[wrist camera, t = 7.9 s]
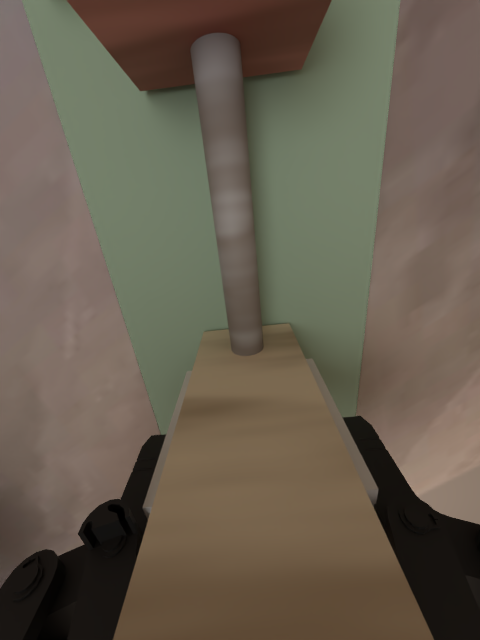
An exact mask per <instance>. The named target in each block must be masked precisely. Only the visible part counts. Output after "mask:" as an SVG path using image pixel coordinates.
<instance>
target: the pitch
mask: <svg viewBox="0 0 480 640" xmlns="http://www.w3.org/2000/svg"><path fill="white" fill-rule="evenodd" d="M22 2H23V5H24V8H25V11H26V15H27V18H28V21H29V24H30V27H31V30H32V33H33V36H34V40H35V43H36V46H37V49H38V52H39V55H40V58H41V61H42V64H43V68H44V71H45V74H46V77H47V80H48V83H49V86H50V89H51V93H52V96H53V99H54V102H55V105H56V108H57V111H58V114H59V118H60V121H61V124H62V127H63V130H64V133H65V136H66V139H67V143H68V146H69V149H70V152H71V155H72V158H73V161H74V164H75V168H76V171H77V174H78V177H79V180H80V183H81V186H82V189H83V193H84V196H85V199H86V202H87V205H88V208H89V211H90V214H91V218H92V221H93V224H94V227H95V230H96V233H97V236H98V239H99V242H100V246H101V249H102V252H103V255H104V258H105V261H106V264H107V267H108V271H109V274H110V277H111V280H112V283H113V286H114V289H115V292H116V296H117V299H118V302H119V305H120V308H121V311H122V314H123V317H124V321H125V324H126V327H127V330H128V333H129V336H130V339H131V342H132V346H133V349H134V352H135V355H136V358H137V361H138V364H139V367H140V371H141V374H142V377H143V380H144V383H145V386H146V389H147V392H148V396H149V399H150V402H151V405H152V408H153V411H154V414H155V417H156V421H157V424H158V427H159V430H160V433H161V435H164V434H167V431H168V428H169V425H170V422H171V418H172V415H173V412H174V409H175V406H176V403H177V400H178V397H179V394H180V391H181V388H182V385H183V382H184V379H185V375H186V372H187V371H192V370H193V366H194V363H195V359H196V356H197V353H198V349H199V346H200V342H201V339H202V336H203V332H205V331H215V330H225V329H229V328H228V321H227V313H226V306H225V299H224V292H223V284H222V277H221V270H220V263H219V255H218V248H217V241H216V234H215V226H214V219H213V212H212V204H211V197H210V190H209V183H208V175H207V168H206V161H205V154H204V146H203V139H202V132H201V125H200V117H199V110H198V103H197V96H196V88H195V84H191V85H184V86H176V87H169V88H162V89H154V90H147V91H140V90H139V89H138V88H137V87H136V85H135V84H134V83H133V82H132V81H131V79H130V78H129V77H128V76H127V74H126V73H125V72H124V71H123V69H122V68H121V67H120V66H119V65H118V63H117V62H116V61H115V60H114V58H113V57H112V56H111V55H110V53H109V52H108V51H107V50H106V49H105V47H104V46H103V45H102V44H101V42H100V41H99V40H98V39H97V37H96V36H95V35H94V34H93V32H92V31H91V30H90V29H89V28H88V26H87V25H86V24H85V23H84V21H83V20H82V19H81V18H80V16H79V15H78V14H77V13H76V12H75V10H74V9H73V8H72V7H71V5H70V4H69V3H68V2H67V0H22ZM399 7H400V0H332V1H331V3H330V5H329V8H328V10H327V12H326V15H325V17H324V19H323V21H322V24H321V26H320V28H319V30H318V33H317V35H316V37H315V40H314V42H313V44H312V46H311V49H310V51H309V53H308V56H307V58H306V60H305V62H304V65H303V67H302V69H301V70H294V71H286V72H279V73H272V74H264V75H257V76H250V77H243V86H244V99H245V112H246V125H247V138H248V151H249V164H250V177H251V190H252V203H253V216H254V229H255V242H256V254H257V267H258V280H259V293H260V306H261V319H262V326H266V325H276V324H286V323H289V324H290V326H291V328H292V330H293V333H294V335H295V337H296V339H297V341H298V343H299V346H300V348H301V350H302V352H303V354H304V357H305V359H311V358H312V359H313V360H314V362H315V364H316V366H317V368H318V370H319V372H320V374H321V376H322V378H323V380H324V382H325V384H326V386H327V388H328V390H329V392H330V394H331V396H332V398H333V400H334V402H335V404H336V406H337V408H338V410H339V412H340V414H341V416H342V418H343V417H354V416H356V408H357V399H358V389H359V380H360V371H361V361H362V352H363V343H364V333H365V324H366V315H367V305H368V296H369V287H370V277H371V268H372V259H373V249H374V240H375V231H376V221H377V212H378V203H379V193H380V184H381V175H382V166H383V156H384V147H385V138H386V128H387V119H388V110H389V100H390V91H391V82H392V72H393V63H394V54H395V44H396V35H397V26H398V16H399Z"/></svg>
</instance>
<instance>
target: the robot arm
mask: <svg viewBox="0 0 480 640" xmlns="http://www.w3.org/2000/svg"><path fill="white" fill-rule="evenodd" d="M306 361H307V363H308V365H309V367H310V370H311V372H312V374H313V376H314V378H315V381H316V383H317V385H318V387H319V389H320V392H321V394H322V396H323V398H324V400H325V402H326V405H327V407H328V409H329V411H330V413H331V416H332V418H333V420H334V422H335V424H336V427H337V429H338V431H339V433H340V435H341V437H342V440H343V442H344V444H345V446H346V448H347V451H348V453H349V455H350V457H351V459H352V461H353V464H354V466H355V468H356V470H357V472H358V475H359V477H360V479H361V481H362V483H363V486H364V488H365V490H366V492H367V494H368V496H369V499H370V501H371V503H372V505H373V507H374V510H375V512H376V514H377V516H378V518H379V520H380V523H381V525H382V527H383V529H384V531H385V534H386V536H387V538H388V540H389V542H390V545H391V547H392V549H393V551H394V553H395V555H396V558H397V560H398V562H399V564H400V566H401V569H402V571H403V573H404V575H405V577H406V580H407V582H408V584H409V586H410V588H411V590H412V593H413V595H414V597H415V599H416V601H417V604H418V606H419V608H420V610H421V612H422V614H423V617H424V619H425V621H426V623H427V625H428V628H429V630H430V632H431V634H432V636H433V639H434V640H480V525H479V524H475V523H471V522H468V521H464V520H460V519H456V518H452V517H449V516H446V515H443V514H440V513H439V512H437V511H435V510H433V509H432V508H431V507H430V506H429V505H428V504H427V503H425V502H423V501H422V500H420V499H419V498H418V497H417V496H416V495H415V493H414V492H413V491H412V489H411V488H410V486H409V484H408V483H407V481H406V480H405V478H404V476H403V475H402V473H401V472H400V470H399V468H398V467H397V465H396V464H395V462H394V460H393V459H392V457H391V456H390V454H389V452H388V451H387V450H386V449H385V446H384V444H383V443H382V441H381V440H380V439H379V436H378V435H377V433H376V432H375V430H374V428H373V427H372V425H371V424H369V423H368V422H367V421H366V420H365V419H363V418H362V417H361V416H354V417H343V418H342V416H341V414H340V412H339V410H338V408H337V406H336V404H335V402H334V400H333V398H332V396H331V394H330V392H329V390H328V388H327V386H326V384H325V382H324V380H323V378H322V376H321V374H320V372H319V370H318V368H317V366H316V364H315V362H314V360H313V359H312V358H311V359H306ZM191 373H192V371H187V372H186V375H185V379H184V382H183V385H182V388H181V391H180V394H179V397H178V400H177V403H176V406H175V409H174V412H173V415H172V418H171V422H170V425H169V428H168V431H167V434H164V435H154V436H151V437H150V438H149V439H148V440H147V442H146V443H145V444H144V445H143V446H142V449H141V451H140V453H139V456H138V458H137V462H136V463H135V466H134V468H133V472H132V473H131V475H130V478H129V480H128V483H127V485H126V488H125V490H124V492H123V495H122V497H121V500H120V499H114V500H109V501H107V502H105V503H103V504H101V505H99V506H98V507H97V508H96V509H95V510H93V511H92V512H91V513H90V514H89V516H88V517H87V518H86V520H85V521H84V522H83V524H82V526H81V528H80V530H79V533H78V535H79V536H80V538H81V539H82V541H83V542H84V544H85V545H82V546H80V547H78V548H76V549H73V550H71V551H69V552H67V553H64V554H62V555H60V556H57V555H56V554H55V552H54V551H52V550H47V549H45V550H42V551H39V552H36V553H34V554H33V555H31V556H30V557H28V558H26V559H25V560H24V561H23V562H22V563H21V564H20V565H19V566H17V567H16V568H15V569H14V570H13V572H12V573H11V574H10V576H9V577H8V578H7V580H6V581H5V582H4V584H3V585H2V587H1V589H0V640H113V638H114V634H115V631H116V628H117V624H118V621H119V617H120V614H121V611H122V607H123V604H124V600H125V597H126V594H127V590H128V587H129V583H130V580H131V577H132V573H133V570H134V566H135V563H136V560H137V556H138V553H139V549H140V546H141V543H142V539H143V536H144V533H145V529H146V526H147V522H148V519H149V516H150V512H151V509H152V505H153V502H154V499H155V495H156V492H157V488H158V485H159V482H160V478H161V475H162V471H163V468H164V465H165V461H166V458H167V454H168V451H169V448H170V444H171V441H172V437H173V434H174V431H175V427H176V424H177V420H178V417H179V414H180V410H181V407H182V403H183V400H184V397H185V393H186V390H187V386H188V383H189V380H190V376H191Z"/></svg>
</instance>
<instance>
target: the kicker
mask: <svg viewBox="0 0 480 640" xmlns="http://www.w3.org/2000/svg"><path fill="white" fill-rule="evenodd" d="M331 1H332V0H67V2H68V3H69V4H70V5H71V7H72V8H73V9H74V10H75V12H76V13H77V14H78V15H79V16H80V18H81V19H82V20H83V21H84V23H85V24H86V25H87V26H88V28H89V29H90V30H91V31H92V32H93V34H94V35H95V36H96V37H97V39H98V40H99V41H100V42H101V44H102V45H103V46H104V47H105V49H106V50H107V51H108V52H109V53H110V55H111V56H112V57H113V58H114V60H115V61H116V62H117V63H118V65H119V66H120V67H121V68H122V69H123V71H124V72H125V73H126V74H127V76H128V77H129V78H130V79H131V81H132V82H133V83H134V84H135V85H136V87H137V88H138V89H139V90H140V91H147V90H154V89H162V88H169V87H176V86H184V85H191V84H195V88H196V96H197V103H198V110H199V117H200V125H201V132H202V139H203V146H204V154H205V161H206V168H207V175H208V183H209V190H210V197H211V204H212V212H213V219H214V226H215V234H216V241H217V248H218V255H219V263H220V270H221V277H222V284H223V292H224V299H225V306H226V313H227V321H228V328H229V329H225V330H215V331H205V332H203V336H202V339H201V342H200V346H199V349H198V353H197V356H196V359H195V363H194V366H193V370H192V373H191V376H190V380H189V383H188V386H187V390H186V393H185V397H184V400H183V403H182V407H181V410H180V414H179V417H178V420H177V424H176V427H175V431H174V434H173V437H172V441H171V444H170V448H169V451H168V454H167V458H166V461H165V465H164V468H163V471H162V475H161V478H160V482H159V485H158V488H157V492H156V495H155V499H154V502H153V505H152V509H151V512H150V516H149V519H148V522H147V526H146V529H145V533H144V536H143V539H142V543H141V546H140V549H139V553H138V556H137V560H136V563H135V566H134V570H133V573H132V577H131V580H130V583H129V587H128V590H127V594H126V597H125V600H124V604H123V607H122V611H121V614H120V617H119V621H118V624H117V628H116V631H115V634H114V638H113V640H434V639H433V636H432V634H431V632H430V630H429V628H428V625H427V623H426V621H425V619H424V617H423V614H422V612H421V610H420V608H419V606H418V604H417V601H416V599H415V597H414V595H413V593H412V590H411V588H410V586H409V584H408V582H407V580H406V577H405V575H404V573H403V571H402V569H401V566H400V564H399V562H398V560H397V558H396V555H395V553H394V551H393V549H392V547H391V545H390V542H389V540H388V538H387V536H386V534H385V531H384V529H383V527H382V525H381V523H380V520H379V518H378V516H377V514H376V512H375V510H374V507H373V505H372V503H371V501H370V499H369V496H368V494H367V492H366V490H365V488H364V486H363V483H362V481H361V479H360V477H359V475H358V472H357V470H356V468H355V466H354V464H353V461H352V459H351V457H350V455H349V453H348V451H347V448H346V446H345V444H344V442H343V440H342V437H341V435H340V433H339V431H338V429H337V427H336V424H335V422H334V420H333V418H332V416H331V413H330V411H329V409H328V407H327V405H326V402H325V400H324V398H323V396H322V394H321V392H320V389H319V387H318V385H317V383H316V381H315V378H314V376H313V374H312V372H311V370H310V367H309V365H308V363H307V361H306V359H305V357H304V354H303V352H302V350H301V348H300V346H299V343H298V341H297V339H296V337H295V335H294V333H293V330H292V328H291V326H290V324H289V323H286V324H276V325H266V326H262V319H261V306H260V293H259V280H258V267H257V254H256V242H255V229H254V216H253V203H252V190H251V177H250V164H249V151H248V138H247V125H246V112H245V99H244V86H243V77H250V76H257V75H264V74H272V73H279V72H286V71H294V70H301V69H302V67H303V65H304V62H305V60H306V58H307V56H308V53H309V51H310V49H311V46H312V44H313V42H314V40H315V37H316V35H317V33H318V30H319V28H320V26H321V24H322V21H323V19H324V17H325V15H326V12H327V10H328V8H329V5H330V3H331Z"/></svg>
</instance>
